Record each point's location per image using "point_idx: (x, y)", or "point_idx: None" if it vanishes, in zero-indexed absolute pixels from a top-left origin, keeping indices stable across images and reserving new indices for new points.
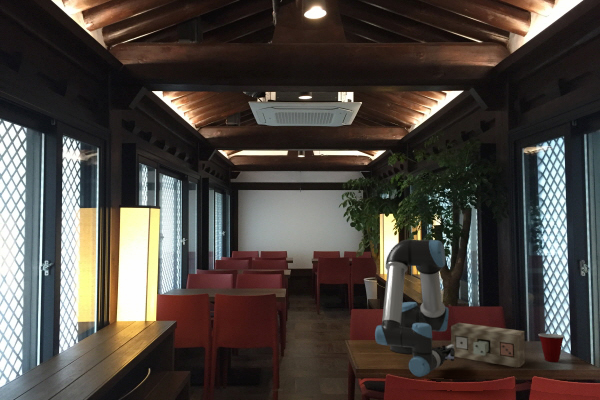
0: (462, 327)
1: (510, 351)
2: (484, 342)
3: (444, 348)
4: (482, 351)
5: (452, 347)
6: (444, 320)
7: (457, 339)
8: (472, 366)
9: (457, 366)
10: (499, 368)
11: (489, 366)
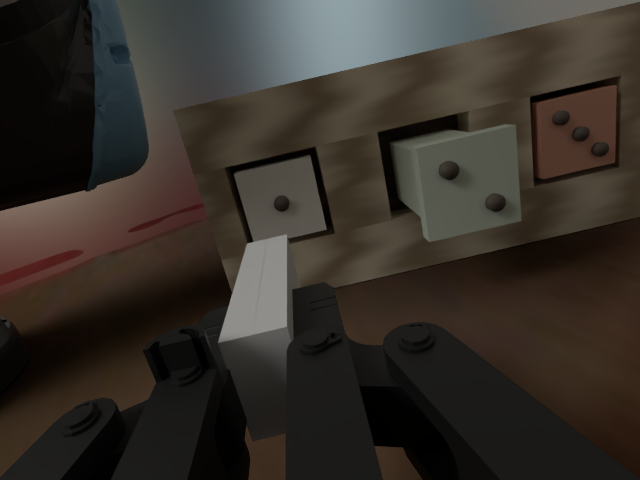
0: (258, 91)
1: (602, 135)
2: (445, 135)
3: (212, 400)
4: (501, 196)
5: (293, 275)
6: (98, 58)
7: (248, 191)
8: (487, 357)
9: (403, 455)
10: (625, 271)
11: (548, 285)
